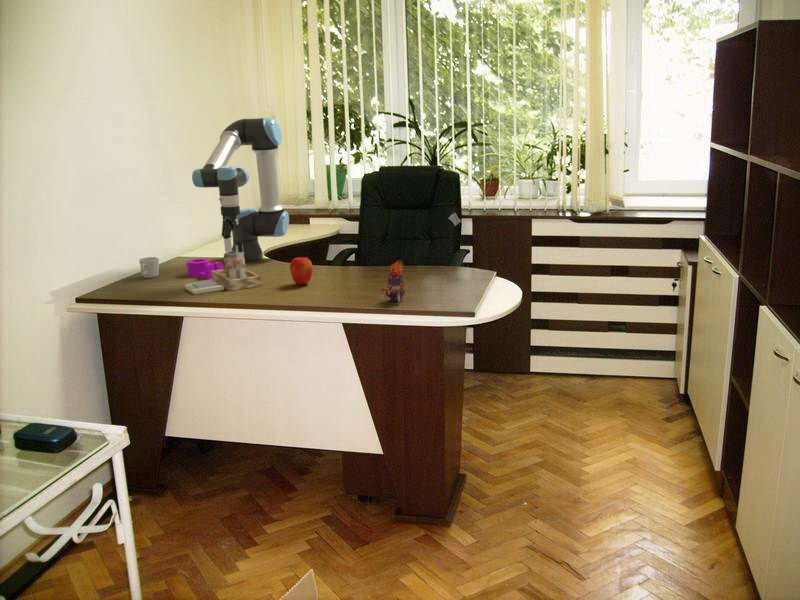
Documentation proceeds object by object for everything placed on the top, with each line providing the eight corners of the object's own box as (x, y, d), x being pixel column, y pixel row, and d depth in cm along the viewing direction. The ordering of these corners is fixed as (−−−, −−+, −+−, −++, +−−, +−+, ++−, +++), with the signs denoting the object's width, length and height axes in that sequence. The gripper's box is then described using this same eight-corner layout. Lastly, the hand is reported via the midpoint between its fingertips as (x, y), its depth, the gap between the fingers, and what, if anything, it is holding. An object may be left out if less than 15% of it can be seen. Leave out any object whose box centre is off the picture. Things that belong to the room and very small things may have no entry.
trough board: (242, 275, 336) (242, 266, 335) (262, 285, 318) (261, 276, 317) (211, 280, 329) (210, 271, 328) (228, 290, 311) (228, 280, 310)
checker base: (214, 284, 323) (213, 279, 323) (223, 289, 313) (223, 285, 313) (185, 288, 317) (184, 283, 317) (194, 294, 307) (193, 289, 307)
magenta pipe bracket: (183, 275, 341) (182, 261, 339) (201, 271, 349) (200, 257, 347) (207, 280, 331) (205, 265, 330) (225, 275, 339) (224, 261, 337)
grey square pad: (210, 282, 320) (210, 279, 320) (217, 285, 313) (216, 283, 313) (191, 284, 316) (191, 282, 316) (197, 288, 309) (197, 286, 309)
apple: (298, 288, 312) (296, 258, 309) (286, 284, 319) (284, 255, 316) (317, 284, 318) (316, 255, 315) (306, 280, 325) (304, 252, 322)
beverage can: (223, 279, 326) (221, 251, 323) (243, 277, 329) (241, 249, 326) (228, 284, 318) (225, 255, 315) (248, 281, 321) (246, 252, 318)
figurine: (377, 303, 286) (376, 263, 283) (386, 297, 295) (385, 258, 291) (399, 305, 283) (398, 264, 280) (408, 299, 292) (407, 259, 288)
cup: (151, 280, 332) (149, 262, 330) (134, 280, 333) (132, 262, 331) (163, 275, 342) (162, 257, 340) (147, 274, 344) (145, 256, 342)
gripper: (210, 202, 324) (215, 253, 330) (231, 210, 303) (236, 263, 309) (228, 200, 328) (232, 250, 334) (250, 208, 307) (254, 261, 313)
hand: (234, 257), depth 321 cm, fingers open, 13 cm apart
